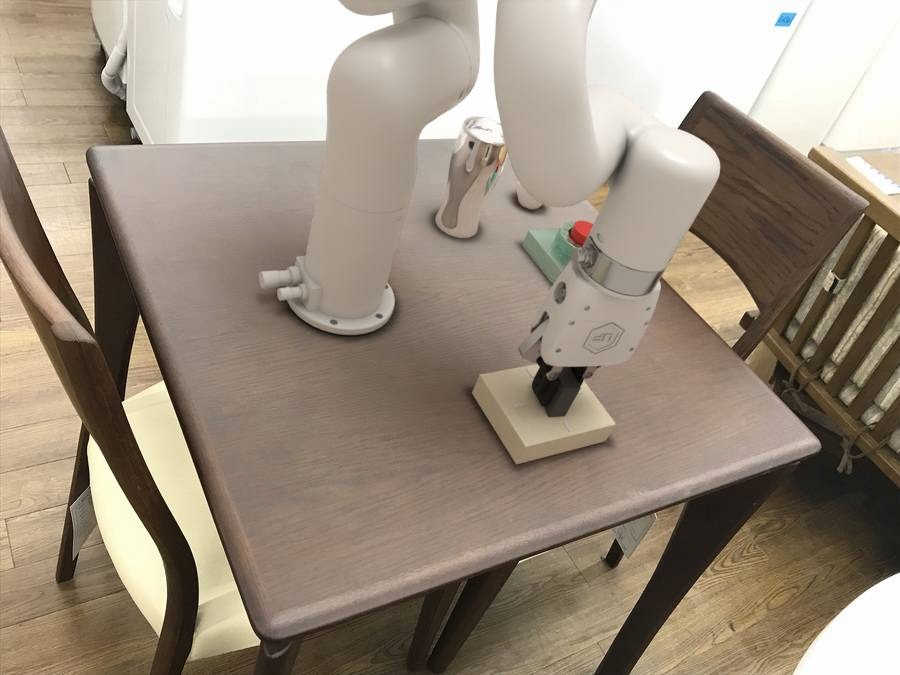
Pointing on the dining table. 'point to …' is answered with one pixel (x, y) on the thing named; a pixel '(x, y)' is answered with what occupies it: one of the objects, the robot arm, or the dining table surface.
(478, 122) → the beer glass
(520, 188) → the muffin
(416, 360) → the dining table surface
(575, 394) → the knob
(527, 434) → the dial panel
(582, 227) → the button
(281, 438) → the dining table surface
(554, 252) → the housing
